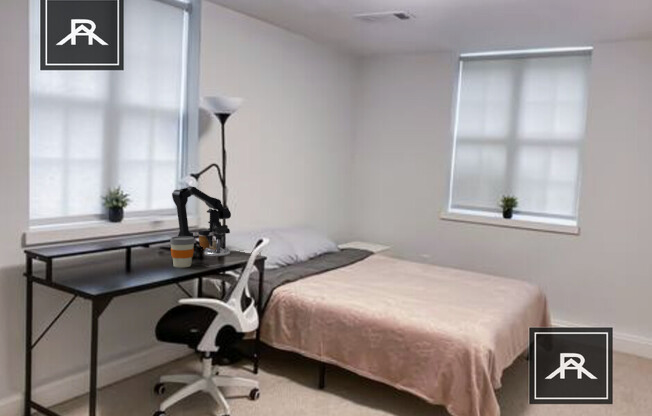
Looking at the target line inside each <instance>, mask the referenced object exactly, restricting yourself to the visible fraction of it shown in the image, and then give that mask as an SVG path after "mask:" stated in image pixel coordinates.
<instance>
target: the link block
mask: <svg viewBox="0 0 652 416" xmlns="http://www.w3.org/2000/svg"><path fill="white" fill-rule="evenodd" d="M210 248H213V249H215V248H216V239H215V240H212V247H211V246H210Z"/></svg>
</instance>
